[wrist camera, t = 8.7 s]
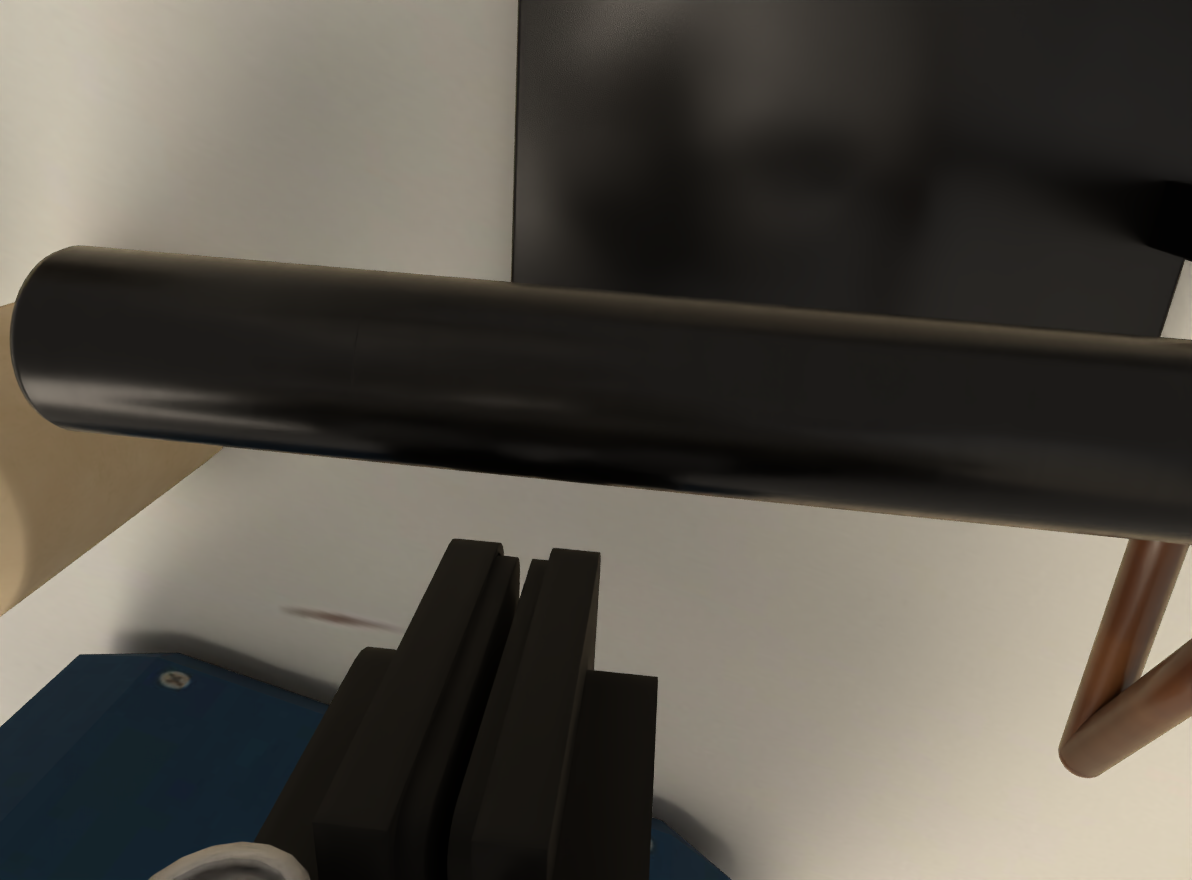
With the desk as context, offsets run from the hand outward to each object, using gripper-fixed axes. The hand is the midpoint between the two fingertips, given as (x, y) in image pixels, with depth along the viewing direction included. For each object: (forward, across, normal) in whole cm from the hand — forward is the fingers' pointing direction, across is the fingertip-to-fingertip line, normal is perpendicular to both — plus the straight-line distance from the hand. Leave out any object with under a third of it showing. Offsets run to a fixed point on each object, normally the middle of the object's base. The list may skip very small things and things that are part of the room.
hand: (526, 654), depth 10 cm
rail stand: (+13, -5, -4) cm, 14 cm away
